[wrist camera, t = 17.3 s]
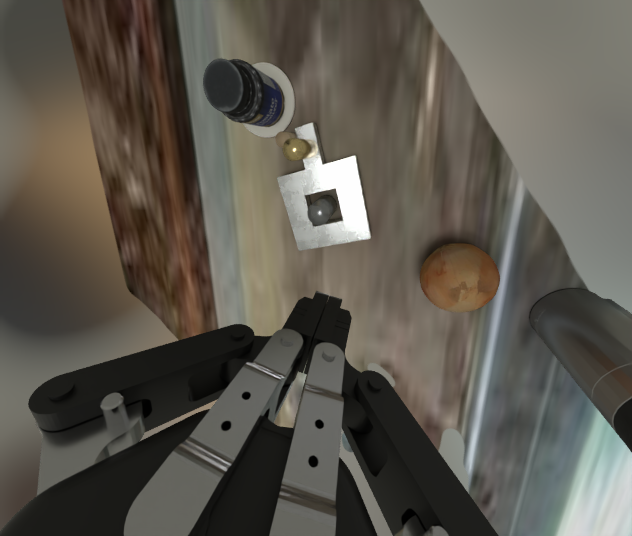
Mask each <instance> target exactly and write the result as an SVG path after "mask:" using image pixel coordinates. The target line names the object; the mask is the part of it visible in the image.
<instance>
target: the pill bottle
mask: <svg viewBox="0 0 632 536" xmlns="http://www.w3.org/2000/svg"><path fill="white" fill-rule="evenodd" d="M203 86H204V91H205V95H206V97H207V99H208V101H209V102H210V104H211V105H212V106H213V107H214V108H216V109H217V110H219V111H221V112H223V114H224V115H225V116H226V117H228V118H229V119H231V120H233V121H235V122H240V123H245V124H250V125H255V126H261V127H271V126H273V125H275V124H276V123H277V122H278V121H279V120H280V118H281V117H282V115H283V112H284V101H285V99H284V95H283V91H282V89H281V87H280V86H279V85H278V83H277V82H276V81H275V80H274V79H272V78H270V77H269V76H267V75H266V74H264V73H263V72H261V71H259V70H258V69H256V68H255V67H253V66H252V65H250V64H249V63H247V62H245V61H242V60H239V59H233V60H226V59H216V60H214V61H212V62H211V63H210V64H209V65H208V66H207V68H206V70H205V73H204V78H203Z"/></svg>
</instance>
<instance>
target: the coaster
mask: <svg viewBox="0 0 632 536" xmlns="http://www.w3.org/2000/svg"><path fill="white" fill-rule="evenodd" d="M252 66H253V67H255V68H256V69H258V70H259V71H261V72H263V73H264V74H266V75H267V76H269V77H270V78H272V79H274V80H275V81H276V82H277V83H278V85H279V86H280V87H281V89H282V91H283V95H284V99H285V101H284V112H283V115H282V117H281V118H280V120H279V121H278V122H277V123H276V124H275V125H273V126H271V127H261V126H255V125H250V124H245V123H243V124H244V126H245V127H246V128H247V129H248V130H249V131H250V132H251V133H253V134H255V135H257V136H260V137H266V138H269V137H275V136H276V135H277V134H278V133H279V132H284V131H285V130H286V129H287V127H288V126H289V125H290V123H291V121H292V118H293V116H294V112H295V94H294V90H293V87H292V84H291V82H290V80H289V79H288V77H287V76H286V75H285V73H284V72H283V71H282V70H280V69H279V68H278V67H276V66H274V65H272V64H269V63H256V64H254V65H252Z"/></svg>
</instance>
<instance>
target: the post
mask: <svg viewBox="0 0 632 536" xmlns="http://www.w3.org/2000/svg"><path fill="white" fill-rule="evenodd" d="M336 208H337V202H336V200H335V199H334V198H333V197H332V196H330V195H324V196H322V197H320V198H319V199H318V200H317V201H315V202H314V203H313V204H312V205H310V207H309V208H308V211H307V215H308V218H309V220H310V221H311V222H312V223H313V224H315V225H323V224H325V223H326V222H327V221H328V220H329V218H330V217H331V216H332V215H333V213H334V212H335V211H336Z"/></svg>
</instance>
